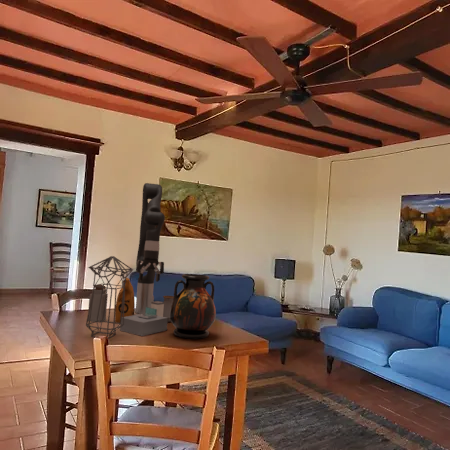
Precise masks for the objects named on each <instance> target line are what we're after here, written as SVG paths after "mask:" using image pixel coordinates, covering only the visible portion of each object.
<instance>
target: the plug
mask: <svg viewBox="0 0 450 450" xmlns="http://www.w3.org/2000/svg"><path fill="white" fill-rule="evenodd" d="M151 308H154V309H157V313H156V315H157V316H162V317H163V309H164V302H163V301H159V300H155V301H154V302H151Z"/></svg>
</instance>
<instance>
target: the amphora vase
mask: <svg viewBox="0 0 450 450" xmlns="http://www.w3.org/2000/svg"><path fill="white" fill-rule="evenodd" d="M181 277H182V279H184V280H185V281H184V280H181V279H179V280H177V281H176V282H175V284H174V288H173V289H174V290H173V296H174V299H173V303H172V304H171V308H170V319H171V322H170V323H171V324H172V325H173V326H174V328H175V329H173V334H174V335H175V336H176V337H179V338H180V339H181V338H183V339H187V340H200V339H204V338H207V337H208V336H209V335H210V332H209V329H210V328H211V327H212V325H213V324H214V323H215V321H216V318H217V317H216V316H217V312H216V311H217V310H216V306H215V302H214V300H215V299H214V298H215V285H214V283H213V282H212V281H210V280H209V279H210V276H209V275H206V274H199V273H198V274H196V273H195V274H194V273H184V274H182V275H181ZM208 280H209V281H208ZM179 284H182V285H183V288H182V289H181V290H180V291H179V292H178V287H179ZM208 285H210V287H211V293H210V294H209V292H208V291H207V287H208Z"/></svg>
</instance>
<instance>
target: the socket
mask: <svg viewBox="0 0 450 450" xmlns="http://www.w3.org/2000/svg"><path fill="white" fill-rule="evenodd" d="M167 321H168V318H167V317H162V316H157V317H154V318H149V319H147V318H142V317H138V316H137V314H134V315H133V316H127V317H124V326H122V327H121V328H119V331H121V332H123V333H124V332H125V333H128V334H132V335H137V336H139V337H144V336H149V335H151V334H152V335H153V334H157V333H161V332H165V331H167V330H168V322H167ZM121 323H123V317H122V320H121ZM119 326H121V324H120V325H119Z"/></svg>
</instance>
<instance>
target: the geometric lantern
mask: <svg viewBox="0 0 450 450" xmlns="http://www.w3.org/2000/svg"><path fill="white" fill-rule="evenodd" d="M112 260H113V263H114V267H113V266H112V267H111V266H110V264H111V261H112ZM95 266H96V267H95ZM124 266H125V267H126V268H125V267H124ZM87 268H88V269H90V270H91V272H92V273H94V276H93V283H92V284H93V285H92V286H93V287H92V290H93V292H92V291H91V294H92V297H91V302H90V306H89V305H88V309H89V311H88V310H87V311H88V312H87V316H86V321H85V322H86V323H85V326H86V328H88V330H89V331H91V335H90V337H92V338H96V337H95V336H96V334H105V335H106V337H108V338H107V339H110V338H112V337H114V336H115V335H117V331H118V330H120V328H121V327H122V326H124V302H125V283H126V278H128V277H129V275H130V274H131V273H132V272H133V271H134V269H133V268H132V267H130V266H129V265H127V264H126V263H125V262H123V261H122V260H121V259H119V258H117V257H115V256H113V255H111V256H109V257H107V258H105V259H103V260H101V261H98V262H96V263H94V264H91V265H90V266H88V267H87ZM104 268H105V270H104ZM112 269H113V270H112ZM102 272H104V275H101V273H102ZM110 272H111V273H110ZM106 273H109V274H107V275H106ZM118 273H120V274H118ZM96 275H97V276H98V279H97V281H96ZM125 275H126V276H125ZM110 276H111V277H110ZM115 276H117V277H120V280H119V281H118V283H117V284H111V283H110V282H111V281H112V280H113V278H114V277H115ZM108 277H110V279H109V278H108ZM103 278H105V279H106V281H107V283H105V282H104V280H103ZM100 279H101V281H102V283H98V282H99V280H100ZM124 280H125V283H124V282H123V281H124ZM120 282H121V283H122V285H121V284H120ZM119 284H120V285H119ZM96 285H103V287H101V288H102V292H101V298H100V304H99V309H98V315H97V320H96V321H94V322H90V318H91V311H92V304H93V298H94V291H95V287H100V286H96ZM112 286H115V287H112ZM121 288H123V296H122V307H121V318H120V323H116V321H115V309H116V301H117V291H118V290H119V289H120V290H121ZM103 289H106V292H105V293H106V295H105V303H104V310H103V318H102V321H98V316H99V310H100V305H101V299H102V294H103ZM108 289H109V290H110V296H109V297H110V298H109V305H108V307H109V308H108V316H107V317H108V318H107V320H104V321H103V319H104V312H105V304H106V297H107V294H108ZM113 290H114V291H115V293H114V307H113V309H114V311H113V321H110V317H111V307H112V296H113ZM90 308H91V309H90ZM122 309H123V323H121V320H122ZM89 313H90V316H89ZM88 318H89V321H88ZM94 323H96V325H97V326H94V325H92V324H94ZM98 323H100V326H99V324H98ZM103 323H107V326H106V327H102V325H103ZM110 324H113V325H112V327H111V328H109V327H110V326H109V325H110ZM115 324H116V325H115ZM120 324H121V326H120ZM92 328H95V329H92ZM96 330H97V331H96ZM101 330H103V331H101ZM104 330H105V332H104ZM106 331H107V332H106ZM109 331H110V332H109Z"/></svg>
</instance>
